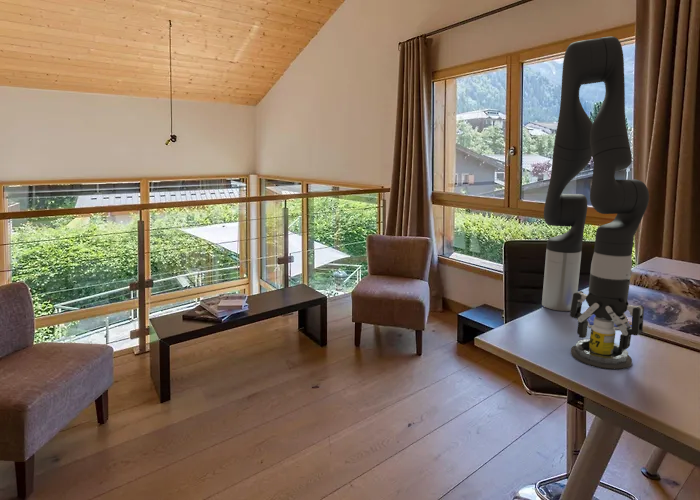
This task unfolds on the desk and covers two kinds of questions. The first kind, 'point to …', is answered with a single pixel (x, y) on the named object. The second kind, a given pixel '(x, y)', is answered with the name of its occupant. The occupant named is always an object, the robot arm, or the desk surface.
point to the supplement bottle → (602, 337)
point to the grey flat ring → (601, 357)
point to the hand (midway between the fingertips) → (602, 343)
